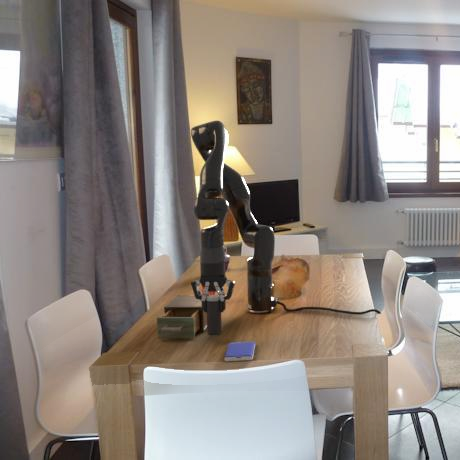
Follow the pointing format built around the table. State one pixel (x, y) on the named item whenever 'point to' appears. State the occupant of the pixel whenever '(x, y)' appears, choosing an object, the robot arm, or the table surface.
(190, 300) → the cabinet
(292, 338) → the table surface
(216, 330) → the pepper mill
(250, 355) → the hard drive
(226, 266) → the potion bottle
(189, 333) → the drawer
